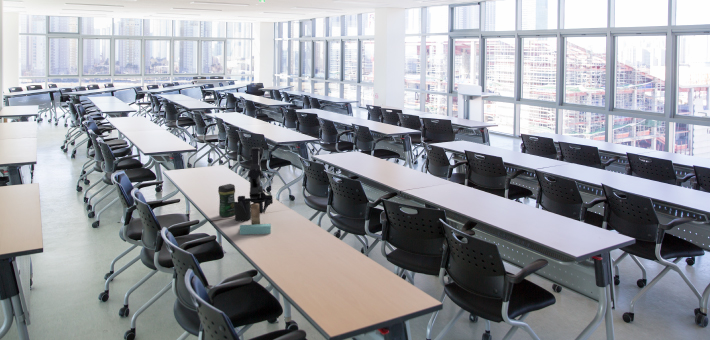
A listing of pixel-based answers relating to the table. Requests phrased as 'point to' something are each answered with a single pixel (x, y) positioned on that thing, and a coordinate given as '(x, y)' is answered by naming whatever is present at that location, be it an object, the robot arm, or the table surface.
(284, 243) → the table surface
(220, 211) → the coffee jar
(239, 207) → the pen holder
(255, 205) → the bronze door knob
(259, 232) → the notched board
